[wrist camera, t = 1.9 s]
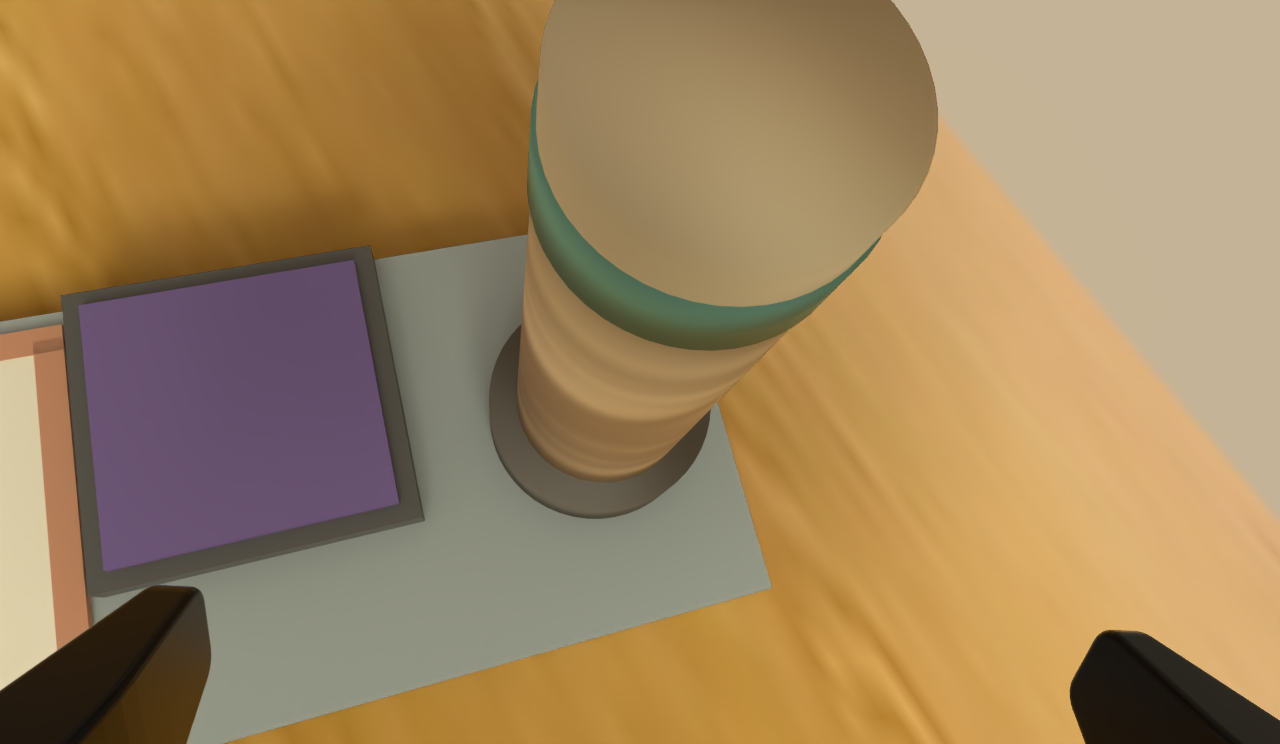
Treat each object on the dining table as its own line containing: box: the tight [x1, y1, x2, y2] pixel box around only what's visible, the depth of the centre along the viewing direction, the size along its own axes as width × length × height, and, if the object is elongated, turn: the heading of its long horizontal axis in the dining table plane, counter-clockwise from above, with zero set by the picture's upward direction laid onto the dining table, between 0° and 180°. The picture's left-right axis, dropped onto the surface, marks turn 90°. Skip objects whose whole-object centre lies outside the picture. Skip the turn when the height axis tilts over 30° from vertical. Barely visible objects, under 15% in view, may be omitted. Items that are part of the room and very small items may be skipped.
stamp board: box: [0, 234, 772, 744], centre depth 18 cm, size 24×10×2 cm, turn 105°
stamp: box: [489, 0, 938, 519], centre depth 14 cm, size 5×5×13 cm
